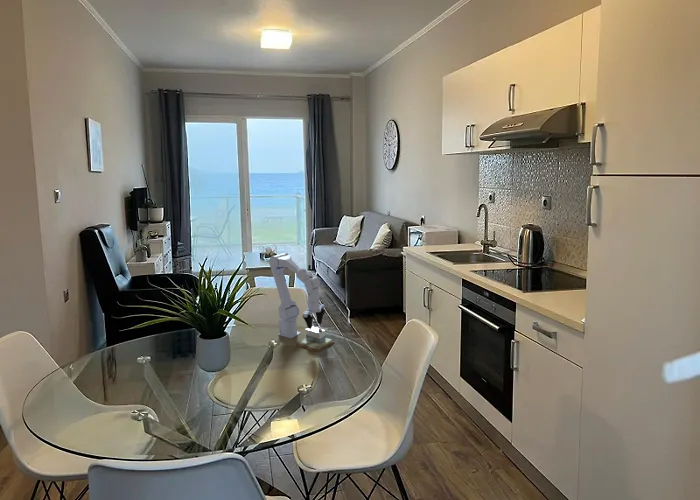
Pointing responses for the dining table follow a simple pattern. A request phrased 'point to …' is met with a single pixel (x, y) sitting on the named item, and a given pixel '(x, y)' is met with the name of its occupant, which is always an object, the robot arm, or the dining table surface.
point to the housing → (315, 335)
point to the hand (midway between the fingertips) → (314, 325)
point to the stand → (314, 344)
